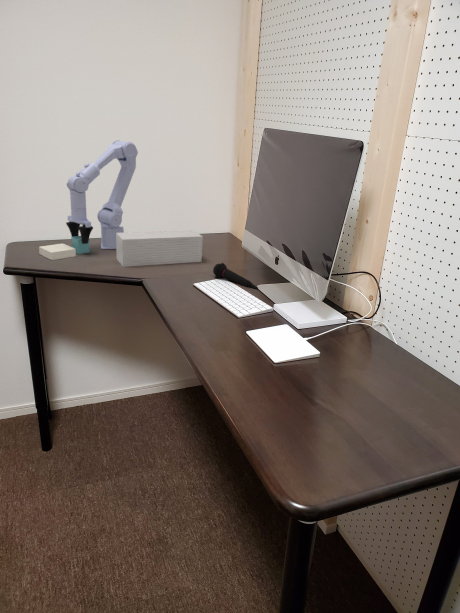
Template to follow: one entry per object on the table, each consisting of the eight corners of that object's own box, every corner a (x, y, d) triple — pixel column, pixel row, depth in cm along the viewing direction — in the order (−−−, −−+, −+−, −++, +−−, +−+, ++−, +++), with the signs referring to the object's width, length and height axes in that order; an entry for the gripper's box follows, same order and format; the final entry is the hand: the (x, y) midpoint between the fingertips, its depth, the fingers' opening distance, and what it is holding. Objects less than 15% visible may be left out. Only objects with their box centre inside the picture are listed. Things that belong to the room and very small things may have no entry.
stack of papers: (192, 255, 196) (193, 230, 192) (201, 262, 187) (202, 236, 183) (116, 259, 182) (116, 232, 178) (122, 267, 173) (122, 239, 169)
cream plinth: (63, 250, 188) (62, 243, 187) (75, 256, 182) (75, 248, 180) (39, 254, 181) (38, 246, 180) (51, 260, 175) (51, 252, 174)
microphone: (258, 296, 163) (216, 275, 173) (264, 281, 162) (221, 261, 172) (250, 295, 158) (208, 274, 169) (256, 280, 157) (213, 259, 167)
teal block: (83, 249, 191) (82, 235, 189) (89, 252, 188) (89, 237, 186) (72, 251, 188) (71, 236, 186) (78, 254, 185) (77, 239, 183)
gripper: (59, 205, 183) (62, 238, 188) (78, 211, 174) (80, 246, 179) (76, 204, 188) (77, 236, 193) (95, 210, 179) (96, 244, 184)
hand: (80, 241), depth 187 cm, fingers open, 7 cm apart
